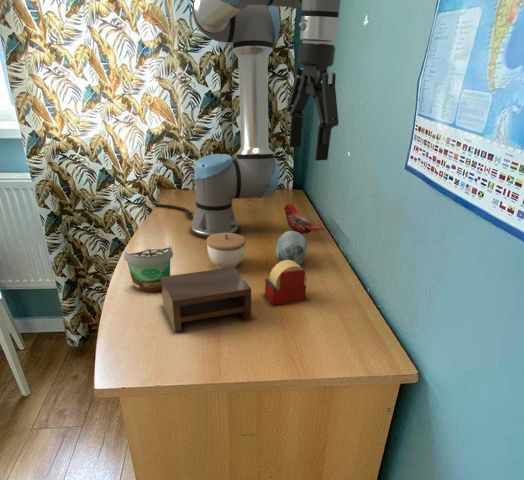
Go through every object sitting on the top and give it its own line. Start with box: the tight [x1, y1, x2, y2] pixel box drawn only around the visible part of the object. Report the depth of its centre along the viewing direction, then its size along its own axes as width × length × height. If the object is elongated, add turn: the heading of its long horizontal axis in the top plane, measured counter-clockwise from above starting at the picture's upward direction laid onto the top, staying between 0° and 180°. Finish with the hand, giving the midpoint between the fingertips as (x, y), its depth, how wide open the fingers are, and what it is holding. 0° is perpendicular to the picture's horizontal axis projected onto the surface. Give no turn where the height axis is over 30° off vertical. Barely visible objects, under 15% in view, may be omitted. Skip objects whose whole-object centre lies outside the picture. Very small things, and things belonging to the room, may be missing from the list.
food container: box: [123, 244, 174, 293], centre depth 114 cm, size 12×6×10 cm, turn 117°
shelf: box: [161, 267, 252, 333], centre depth 106 cm, size 12×18×8 cm, turn 112°
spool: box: [275, 230, 308, 267], centre depth 132 cm, size 14×10×10 cm
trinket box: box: [206, 233, 246, 269], centre depth 128 cm, size 11×11×9 cm
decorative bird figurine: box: [283, 203, 324, 235], centre depth 147 cm, size 3×18×10 cm, turn 43°
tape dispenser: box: [264, 260, 308, 306], centre depth 113 cm, size 5×9×10 cm, turn 112°
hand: (307, 153), depth 106 cm, fingers open, 13 cm apart
